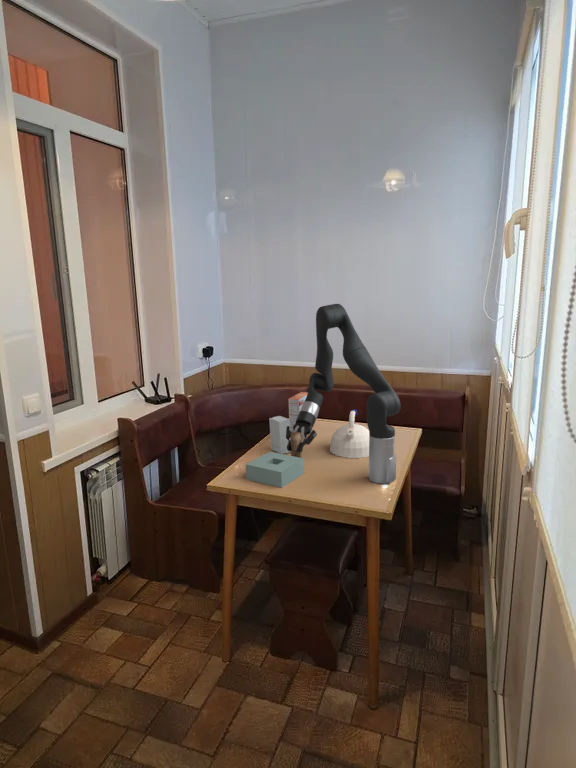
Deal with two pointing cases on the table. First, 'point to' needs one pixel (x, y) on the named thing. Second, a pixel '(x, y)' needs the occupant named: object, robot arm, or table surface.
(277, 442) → the skincare box
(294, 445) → the walnut pin
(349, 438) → the kettle
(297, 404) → the cracker box
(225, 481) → the table surface
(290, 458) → the slate bore block
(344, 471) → the table surface
